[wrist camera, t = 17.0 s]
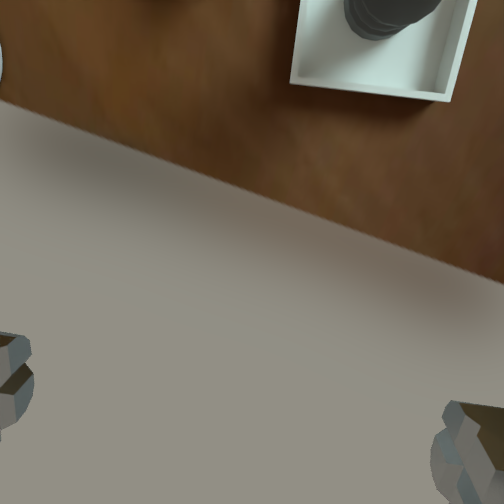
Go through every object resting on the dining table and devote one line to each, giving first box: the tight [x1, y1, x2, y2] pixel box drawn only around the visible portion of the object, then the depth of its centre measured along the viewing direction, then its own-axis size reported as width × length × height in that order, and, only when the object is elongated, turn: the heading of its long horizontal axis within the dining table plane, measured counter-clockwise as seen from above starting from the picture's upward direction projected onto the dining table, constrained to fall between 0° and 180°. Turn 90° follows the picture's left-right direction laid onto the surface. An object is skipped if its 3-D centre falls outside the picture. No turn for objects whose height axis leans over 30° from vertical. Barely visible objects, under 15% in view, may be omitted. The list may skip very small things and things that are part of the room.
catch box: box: [290, 0, 477, 102], centre depth 36 cm, size 14×14×4 cm
